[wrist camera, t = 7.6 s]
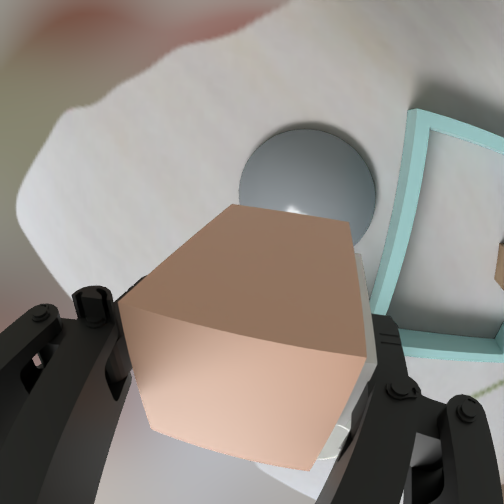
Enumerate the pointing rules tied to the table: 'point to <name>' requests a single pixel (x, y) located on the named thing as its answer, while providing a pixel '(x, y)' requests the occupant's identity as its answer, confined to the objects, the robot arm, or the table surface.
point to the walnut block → (500, 266)
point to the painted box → (250, 335)
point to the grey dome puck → (310, 179)
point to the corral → (400, 230)
